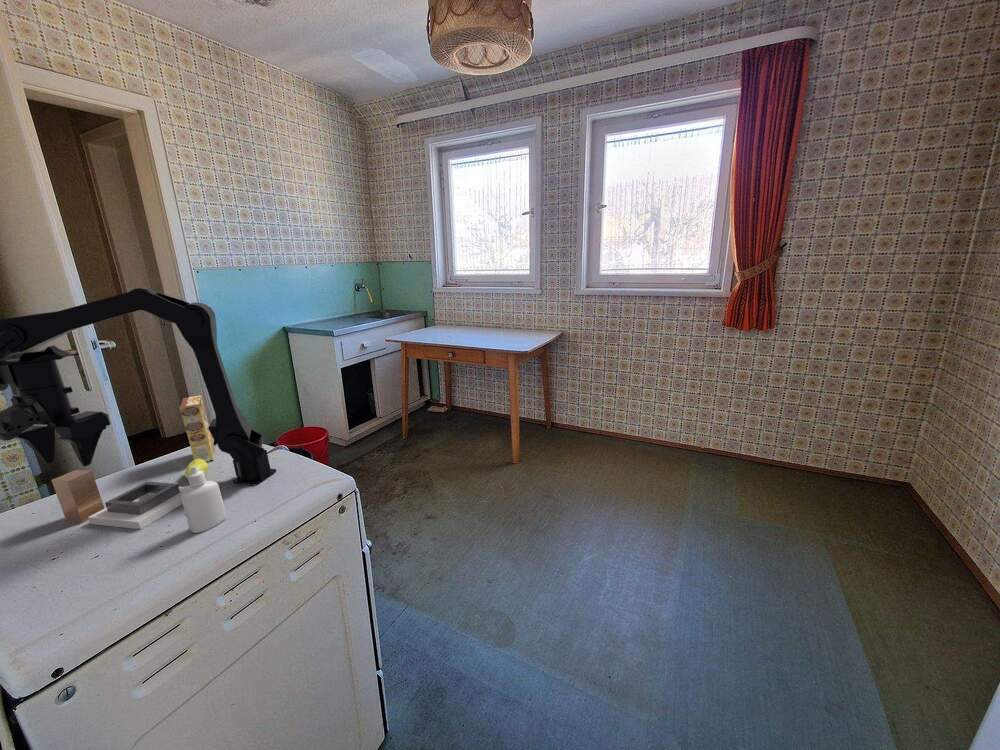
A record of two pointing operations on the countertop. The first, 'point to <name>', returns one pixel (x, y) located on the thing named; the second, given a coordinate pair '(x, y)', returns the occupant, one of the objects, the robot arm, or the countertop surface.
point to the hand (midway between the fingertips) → (68, 464)
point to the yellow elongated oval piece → (199, 464)
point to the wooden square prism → (78, 495)
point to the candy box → (197, 428)
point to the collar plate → (140, 505)
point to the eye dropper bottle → (202, 502)
